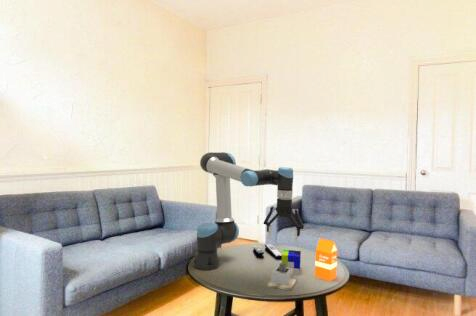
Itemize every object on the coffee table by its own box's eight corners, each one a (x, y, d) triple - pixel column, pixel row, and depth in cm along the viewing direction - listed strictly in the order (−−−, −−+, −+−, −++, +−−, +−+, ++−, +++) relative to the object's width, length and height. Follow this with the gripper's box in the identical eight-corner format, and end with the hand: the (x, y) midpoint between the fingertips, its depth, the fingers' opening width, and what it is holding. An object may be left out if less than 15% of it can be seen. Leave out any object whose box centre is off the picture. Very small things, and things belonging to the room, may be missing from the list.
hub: (271, 283, 165) (271, 271, 165) (275, 276, 174) (276, 265, 174) (289, 286, 162) (289, 274, 162) (292, 279, 171) (293, 268, 170)
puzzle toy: (299, 275, 181) (300, 256, 180) (281, 273, 183) (281, 255, 182) (300, 268, 191) (300, 251, 190) (282, 266, 193) (283, 249, 192)
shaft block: (267, 286, 165) (267, 265, 164) (273, 277, 176) (274, 258, 176) (291, 290, 160) (292, 269, 160) (296, 281, 172) (297, 261, 171)
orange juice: (330, 281, 173) (331, 243, 172) (314, 276, 179) (315, 239, 178) (336, 277, 179) (337, 240, 178) (321, 272, 185) (322, 236, 184)
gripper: (258, 197, 168) (256, 238, 169) (308, 202, 159) (306, 246, 160) (263, 195, 175) (261, 235, 176) (311, 199, 166) (309, 241, 167)
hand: (282, 240), depth 168 cm, fingers open, 13 cm apart
